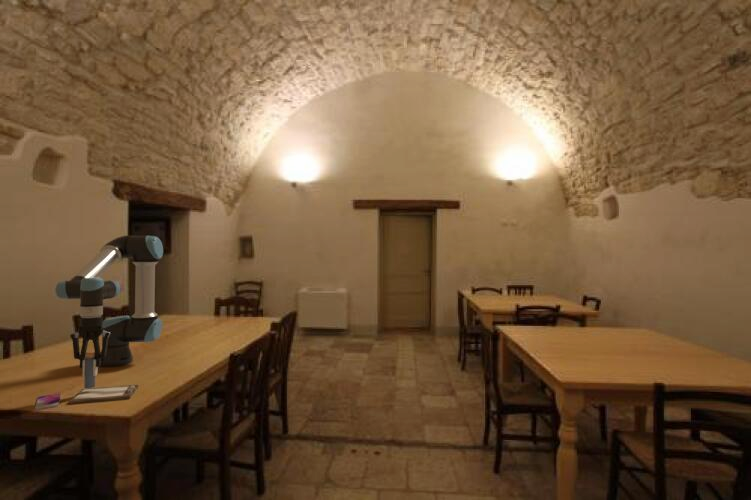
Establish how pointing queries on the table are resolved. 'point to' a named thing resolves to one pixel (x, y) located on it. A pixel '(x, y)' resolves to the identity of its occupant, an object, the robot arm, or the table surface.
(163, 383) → the table surface
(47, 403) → the smartphone
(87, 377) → the blue cylinder
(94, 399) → the clipboard
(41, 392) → the table surface
